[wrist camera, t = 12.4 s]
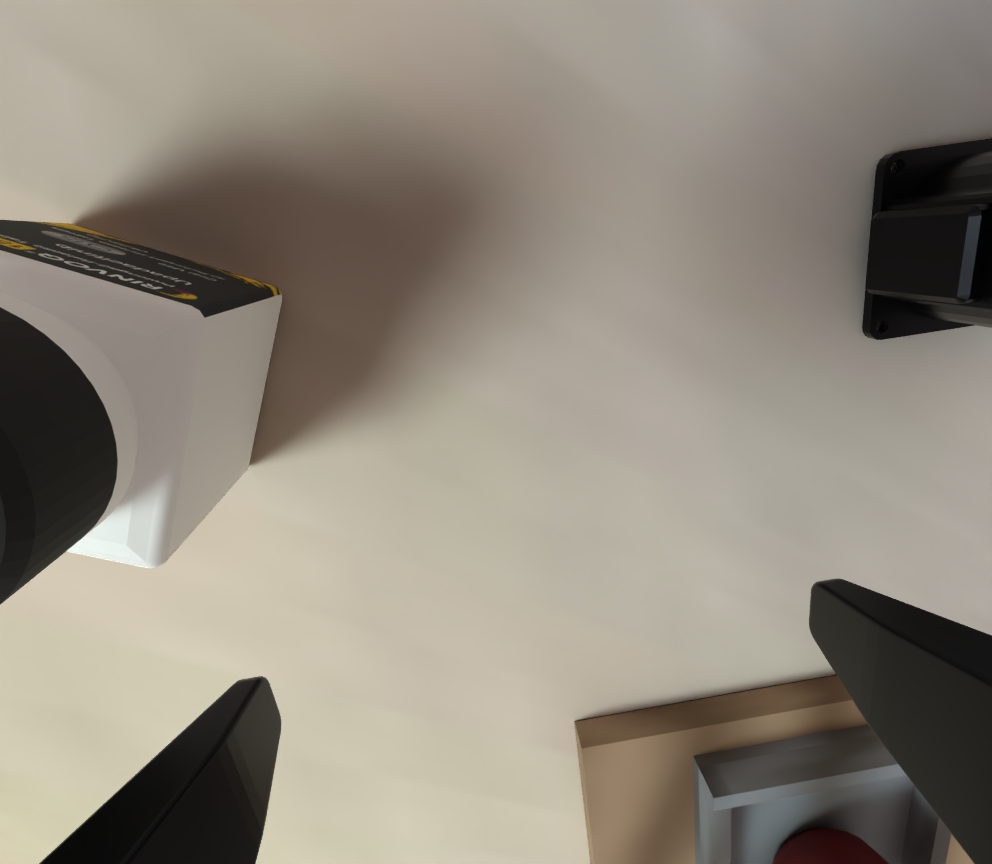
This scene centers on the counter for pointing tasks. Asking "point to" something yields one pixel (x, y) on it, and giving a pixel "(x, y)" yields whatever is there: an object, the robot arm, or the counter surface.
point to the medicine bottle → (119, 395)
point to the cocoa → (826, 849)
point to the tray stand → (749, 781)
